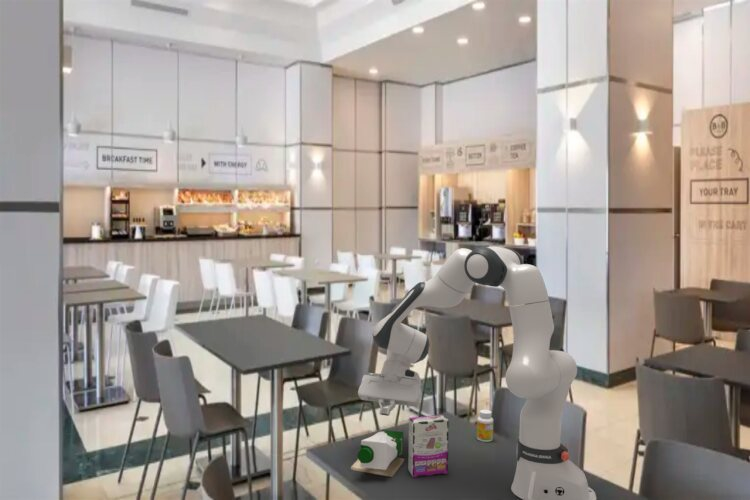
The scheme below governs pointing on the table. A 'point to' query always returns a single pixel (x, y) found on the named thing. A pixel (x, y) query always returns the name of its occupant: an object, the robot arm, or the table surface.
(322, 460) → the table surface
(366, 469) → the oak board
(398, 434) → the soya milk
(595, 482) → the table surface
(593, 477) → the table surface
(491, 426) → the supplement bottle
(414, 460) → the candy bar box
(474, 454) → the table surface
